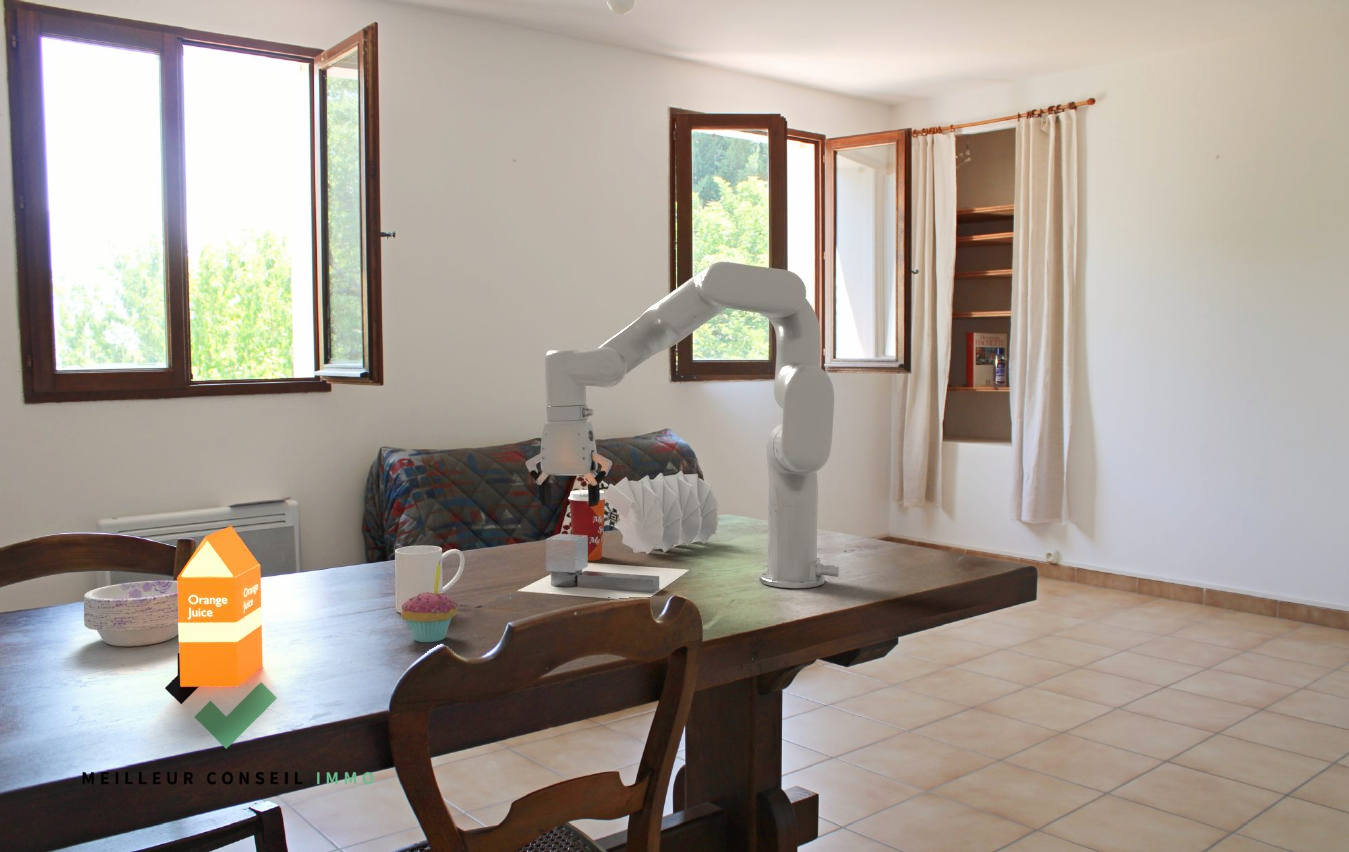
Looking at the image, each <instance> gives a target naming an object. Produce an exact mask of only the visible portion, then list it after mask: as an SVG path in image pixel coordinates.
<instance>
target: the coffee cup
mask: <svg viewBox="0 0 1349 852" xmlns="http://www.w3.org/2000/svg"><path fill="white" fill-rule="evenodd" d="M605 495H606V492H605V490H601V489H600V501H599V502H598V505H596V506H593V507H590V506H589V502H588V489H576V490H571V491H570V494H569V496H568V498H567V499H568V500H569V509H570V510H569V511H570V523H571V524H570V527H571V528H570V529H571V535H586V536H588V562H592V561H598V560H600V559H603V558H602V556H603V541H604V525H605V522H604V521H605V507H606V506H605V505H606V501H605V499H606V496H605Z"/></svg>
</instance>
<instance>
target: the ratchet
mask: <svg viewBox="0 0 1349 852" xmlns="http://www.w3.org/2000/svg"><path fill="white" fill-rule="evenodd" d="M550 575H551V586H554V587H560V588H571V587H580V588H593V589H606V590H619V591H632V592H645V593H654V592H656V591H657V590H658V589H659V576H650V575H636V574H622V573H608V572H594V571H584V572H582V570H580V571H578V572H576V573H572V572H558V571H550Z"/></svg>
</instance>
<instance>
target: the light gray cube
mask: <svg viewBox="0 0 1349 852" xmlns="http://www.w3.org/2000/svg"><path fill="white" fill-rule="evenodd" d="M588 563H589V561H588V536H586V535H572V534H570V533H569V534H567V533H558V534H555V535H552V536H550V537H548V538H545V570H546V572H551V571H558V572H572V573H576V572H578V571H580V570H582V569H584V568H586V567H588Z"/></svg>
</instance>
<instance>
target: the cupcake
mask: <svg viewBox="0 0 1349 852" xmlns="http://www.w3.org/2000/svg"><path fill="white" fill-rule="evenodd" d="M440 561H441V560H439V564H438V565H437V567H436V575H435V584H434V592H433V593H429V592H428V593H427V592H425V593H422V594H418V596H415V597H413V598H411V599H409V600H408V601H406V602H405V603H404V604H403V605H402V611H401V613H400V617H401V619H402V620H404V621H406V623H407V624H408V626H409V628H410V631H411V634H412V637H413V640H414V641H416V642H419V643H436V642H440V641H443V640H444V639H445V638H446V637H447V633H448V629H449V627H450V623H451V621H452V619H453V617H455V616H456V615H457V614H458V604H457V603H456V601H455V600H453V598H452V597H451V596H448V595H446V593H444V592H443V593H438V586H439V578H440V569H441V566H440Z"/></svg>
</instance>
